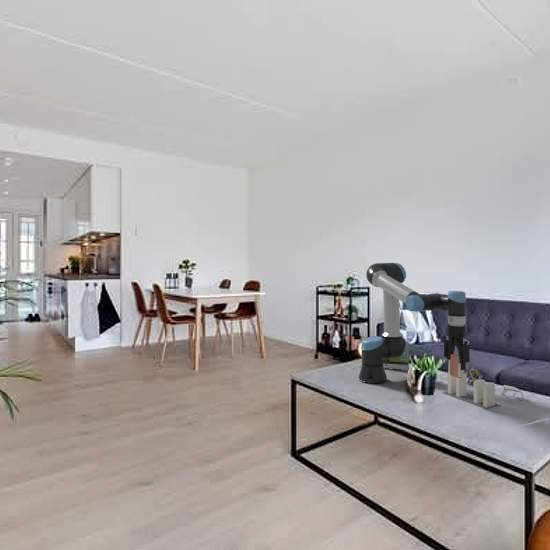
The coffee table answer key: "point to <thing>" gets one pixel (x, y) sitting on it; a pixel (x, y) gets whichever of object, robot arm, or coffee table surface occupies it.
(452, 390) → the domino
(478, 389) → the domino
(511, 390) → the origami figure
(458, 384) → the domino
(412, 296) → the robot arm
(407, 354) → the tea box
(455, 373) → the domino
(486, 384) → the domino
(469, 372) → the passion flower
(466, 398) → the mat
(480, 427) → the coffee table surface
